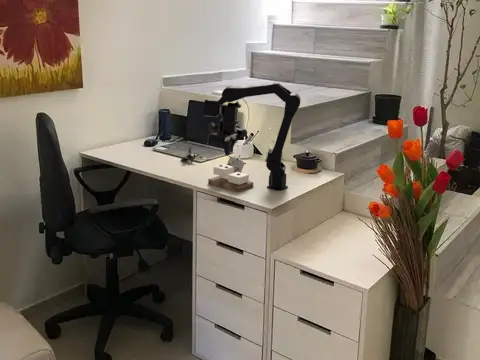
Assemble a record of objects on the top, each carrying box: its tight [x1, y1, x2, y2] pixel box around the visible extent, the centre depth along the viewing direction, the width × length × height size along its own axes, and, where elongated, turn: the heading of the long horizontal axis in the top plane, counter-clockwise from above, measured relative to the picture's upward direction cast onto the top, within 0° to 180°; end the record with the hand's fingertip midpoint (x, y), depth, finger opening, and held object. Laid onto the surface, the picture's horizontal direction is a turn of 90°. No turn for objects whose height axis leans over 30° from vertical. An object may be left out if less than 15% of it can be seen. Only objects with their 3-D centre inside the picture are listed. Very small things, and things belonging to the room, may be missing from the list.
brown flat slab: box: [207, 175, 254, 193], centre depth 239 cm, size 16×10×2 cm, turn 51°
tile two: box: [213, 163, 234, 177], centre depth 240 cm, size 6×6×3 cm
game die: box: [226, 154, 247, 173], centre depth 256 cm, size 9×8×10 cm
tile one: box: [228, 172, 250, 185], centre depth 236 cm, size 6×6×3 cm
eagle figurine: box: [180, 146, 200, 163], centre depth 273 cm, size 8×7×9 cm
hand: (227, 155), depth 237 cm, fingers closed
